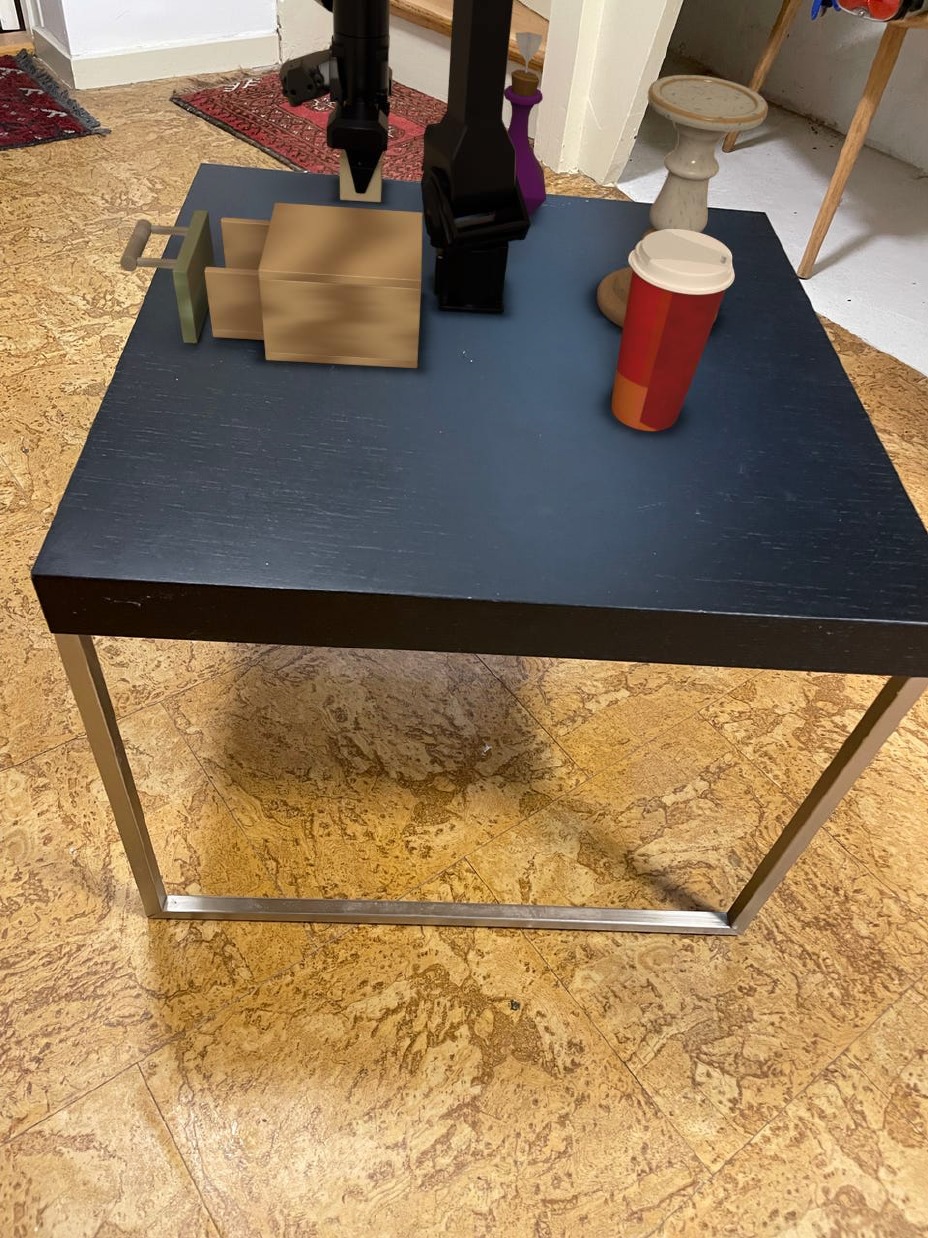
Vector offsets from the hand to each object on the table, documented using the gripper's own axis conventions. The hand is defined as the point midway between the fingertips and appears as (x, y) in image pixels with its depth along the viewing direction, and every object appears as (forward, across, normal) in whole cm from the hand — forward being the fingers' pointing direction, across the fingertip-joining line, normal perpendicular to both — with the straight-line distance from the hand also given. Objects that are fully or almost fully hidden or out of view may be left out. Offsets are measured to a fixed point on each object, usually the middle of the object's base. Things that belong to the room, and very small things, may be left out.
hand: (361, 183), depth 109 cm
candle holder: (+1, +22, +31) cm, 38 cm away
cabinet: (+1, +29, 0) cm, 29 cm away
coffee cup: (+1, +40, +27) cm, 48 cm away
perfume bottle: (+1, +2, +17) cm, 17 cm away
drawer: (0, +29, -10) cm, 31 cm away
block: (+1, 0, 0) cm, 1 cm away
